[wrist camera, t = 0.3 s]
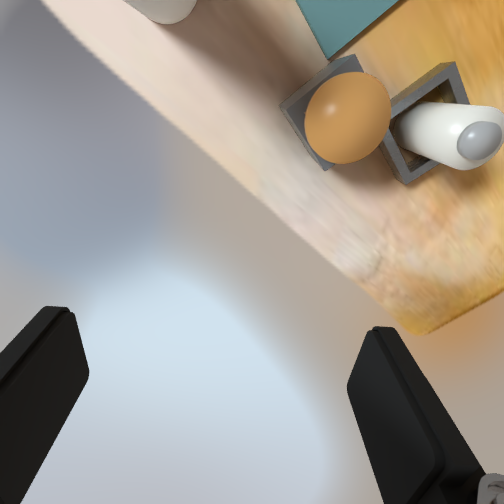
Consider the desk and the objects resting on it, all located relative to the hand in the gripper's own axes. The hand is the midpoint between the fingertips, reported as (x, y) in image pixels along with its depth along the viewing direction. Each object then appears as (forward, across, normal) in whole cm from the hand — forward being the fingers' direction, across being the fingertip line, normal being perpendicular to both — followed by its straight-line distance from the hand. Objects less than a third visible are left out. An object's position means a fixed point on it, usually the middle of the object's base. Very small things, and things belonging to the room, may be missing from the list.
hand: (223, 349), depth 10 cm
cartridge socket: (+30, -20, -6) cm, 36 cm away
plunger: (+25, -9, -6) cm, 27 cm away
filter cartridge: (+30, -20, -6) cm, 36 cm away
